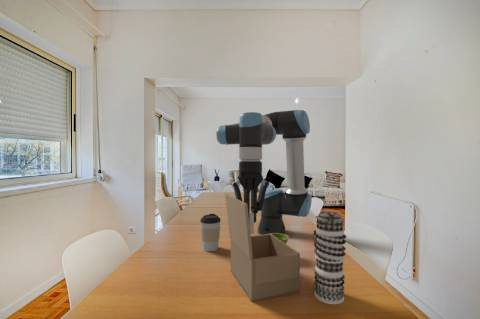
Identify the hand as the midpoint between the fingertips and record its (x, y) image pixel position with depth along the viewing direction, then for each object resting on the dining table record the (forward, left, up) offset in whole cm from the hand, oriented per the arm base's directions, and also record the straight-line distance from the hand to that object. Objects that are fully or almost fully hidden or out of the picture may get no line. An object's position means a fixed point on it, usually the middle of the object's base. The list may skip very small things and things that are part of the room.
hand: (250, 232), depth 82 cm
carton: (-5, 0, -17) cm, 17 cm away
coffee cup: (+5, -34, -17) cm, 39 cm away
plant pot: (-19, -16, -17) cm, 30 cm away
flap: (+4, 0, +3) cm, 5 cm away
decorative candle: (-20, +15, -17) cm, 30 cm away
